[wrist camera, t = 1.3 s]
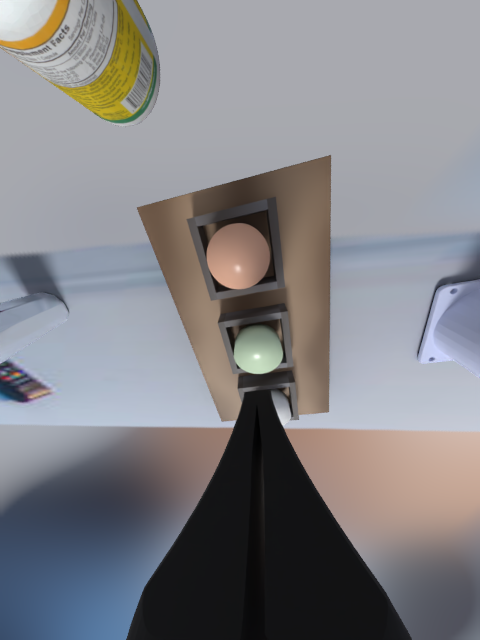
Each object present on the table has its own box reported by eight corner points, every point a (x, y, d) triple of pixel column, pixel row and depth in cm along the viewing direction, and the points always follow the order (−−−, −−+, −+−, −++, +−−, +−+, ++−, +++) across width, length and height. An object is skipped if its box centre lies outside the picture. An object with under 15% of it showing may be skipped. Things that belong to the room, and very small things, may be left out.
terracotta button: (263, 216, 11) (264, 216, 10) (271, 276, 13) (273, 283, 11) (204, 230, 12) (198, 231, 10) (219, 286, 13) (216, 294, 12)
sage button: (277, 320, 14) (280, 331, 13) (282, 357, 16) (285, 370, 14) (230, 327, 15) (228, 338, 13) (240, 362, 16) (239, 376, 15)
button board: (319, 164, 12) (342, 145, 9) (322, 396, 22) (334, 425, 19) (151, 209, 14) (122, 205, 11) (224, 406, 24) (220, 434, 21)
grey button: (286, 386, 17) (289, 400, 16) (289, 411, 19) (292, 427, 17) (247, 390, 18) (247, 405, 16) (254, 414, 19) (254, 430, 18)
